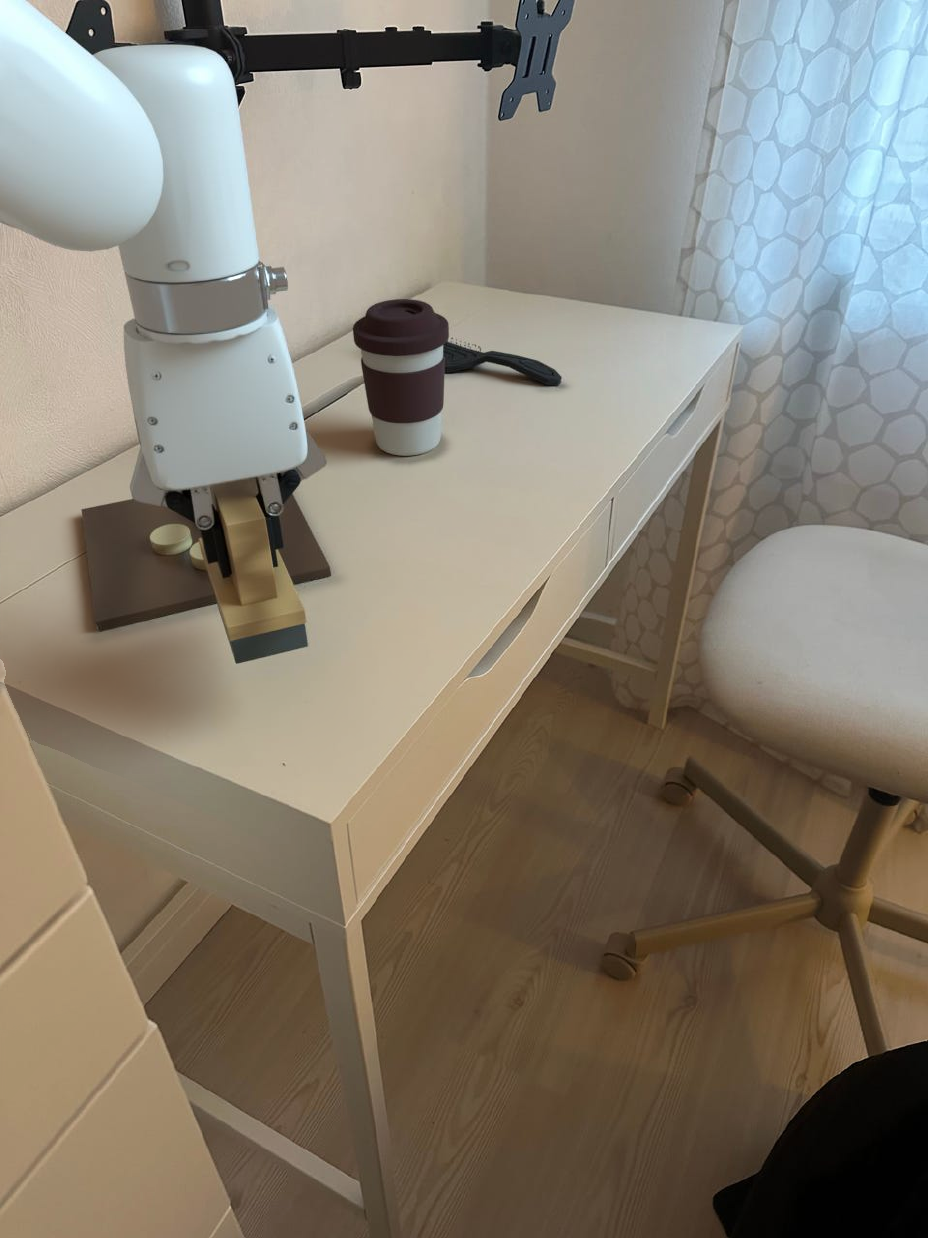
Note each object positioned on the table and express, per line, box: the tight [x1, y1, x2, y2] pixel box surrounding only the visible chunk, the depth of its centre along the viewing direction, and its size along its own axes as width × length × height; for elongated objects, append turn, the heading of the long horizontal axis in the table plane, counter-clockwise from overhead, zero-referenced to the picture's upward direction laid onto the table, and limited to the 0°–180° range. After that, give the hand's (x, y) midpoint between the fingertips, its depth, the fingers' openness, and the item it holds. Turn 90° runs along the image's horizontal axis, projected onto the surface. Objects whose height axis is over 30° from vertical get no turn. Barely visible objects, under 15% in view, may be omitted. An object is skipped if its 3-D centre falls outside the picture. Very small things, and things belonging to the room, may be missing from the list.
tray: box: [81, 478, 332, 632], centre depth 84 cm, size 20×20×1 cm
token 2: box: [189, 542, 207, 570], centre depth 80 cm, size 4×4×1 cm
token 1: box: [150, 524, 192, 555], centre depth 82 cm, size 4×4×1 cm
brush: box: [199, 479, 309, 665], centre depth 63 cm, size 5×12×10 cm, turn 22°
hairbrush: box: [443, 337, 563, 387], centre depth 116 cm, size 8×4×25 cm
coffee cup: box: [352, 298, 450, 457], centre depth 96 cm, size 10×10×15 cm
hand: (246, 560), depth 63 cm, fingers closed on brush, 2 cm apart
